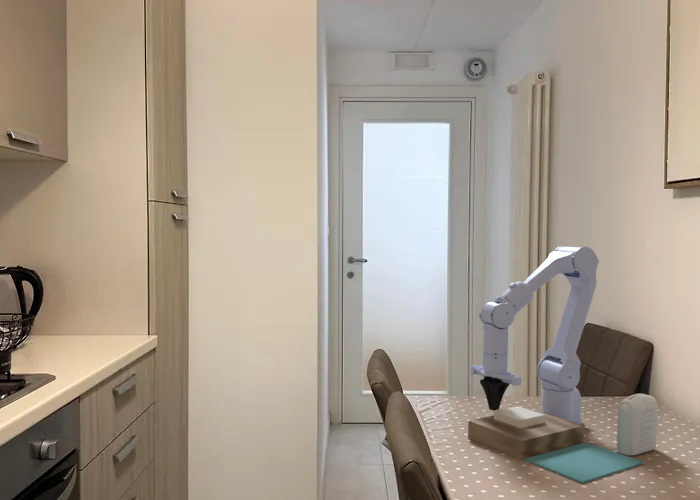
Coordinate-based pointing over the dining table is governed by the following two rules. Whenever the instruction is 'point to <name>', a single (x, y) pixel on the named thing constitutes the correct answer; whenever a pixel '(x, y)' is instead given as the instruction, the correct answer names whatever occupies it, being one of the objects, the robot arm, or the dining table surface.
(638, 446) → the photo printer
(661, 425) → the dining table surface
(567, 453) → the mat
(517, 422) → the coaster
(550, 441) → the wood grain panel
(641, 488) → the dining table surface
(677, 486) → the dining table surface
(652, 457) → the dining table surface
